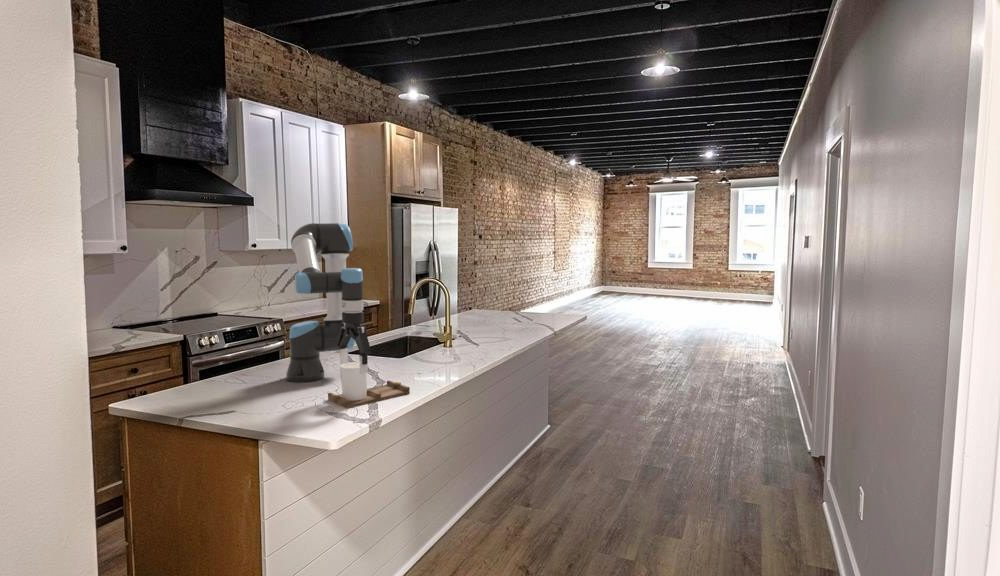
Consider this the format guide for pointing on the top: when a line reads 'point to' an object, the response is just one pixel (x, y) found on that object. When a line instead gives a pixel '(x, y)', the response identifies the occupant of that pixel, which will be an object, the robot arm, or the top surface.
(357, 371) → the candle holder
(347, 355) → the robot arm
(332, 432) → the top surface
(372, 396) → the brown wooden flat tray
